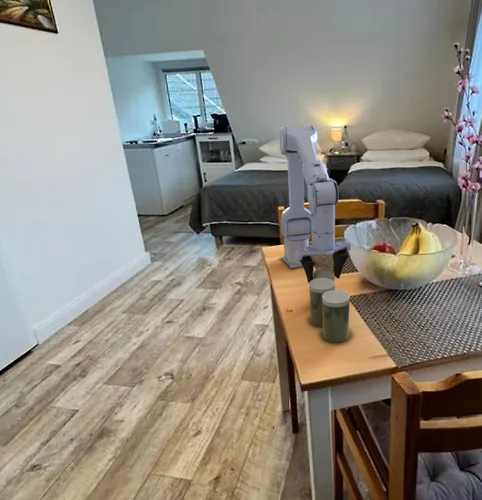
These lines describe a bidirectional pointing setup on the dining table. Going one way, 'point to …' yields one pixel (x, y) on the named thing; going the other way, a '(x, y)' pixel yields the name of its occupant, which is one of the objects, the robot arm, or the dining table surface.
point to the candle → (324, 273)
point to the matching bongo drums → (329, 309)
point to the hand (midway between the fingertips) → (323, 279)
